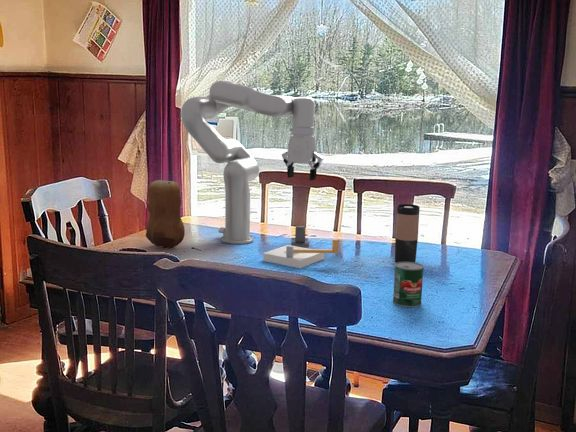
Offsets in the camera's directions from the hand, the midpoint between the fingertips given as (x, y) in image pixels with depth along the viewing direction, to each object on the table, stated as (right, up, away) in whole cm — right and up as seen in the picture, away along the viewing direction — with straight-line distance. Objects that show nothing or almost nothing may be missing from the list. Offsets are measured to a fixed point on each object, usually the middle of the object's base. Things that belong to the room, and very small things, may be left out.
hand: (301, 178), depth 231 cm
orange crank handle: (+3, -27, -23) cm, 36 cm away
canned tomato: (+29, -38, -54) cm, 72 cm away
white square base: (-3, -30, -17) cm, 34 cm away
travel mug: (+36, -30, -12) cm, 48 cm away
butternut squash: (-50, -25, +1) cm, 56 cm away
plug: (-1, -27, -2) cm, 27 cm away
